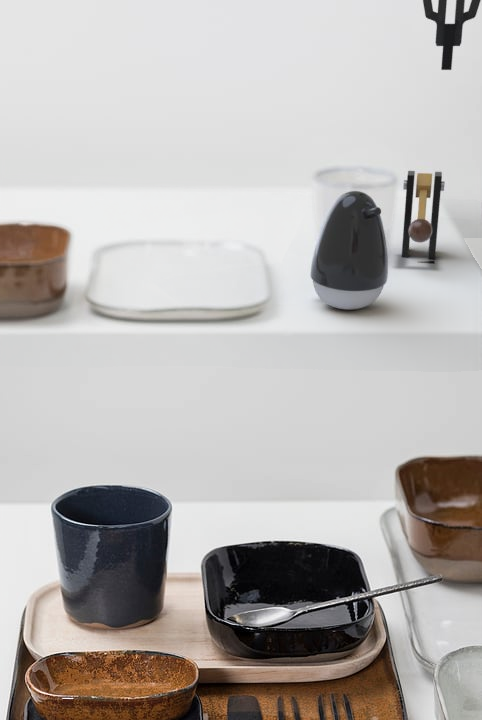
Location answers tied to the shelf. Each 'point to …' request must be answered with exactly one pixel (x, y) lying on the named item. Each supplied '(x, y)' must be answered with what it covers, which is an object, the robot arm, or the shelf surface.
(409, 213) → the bracket
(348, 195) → the pump dispenser
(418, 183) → the ball knob lever
